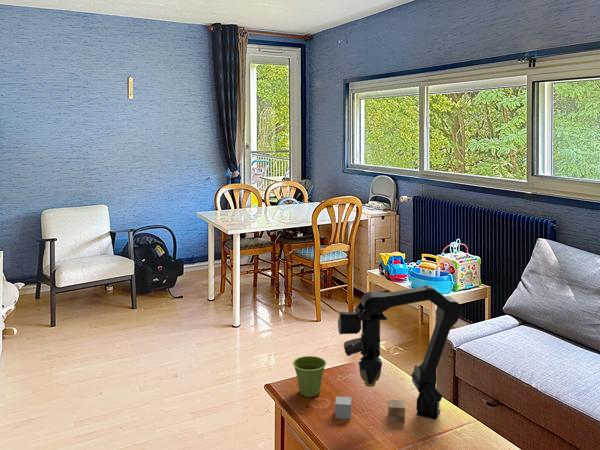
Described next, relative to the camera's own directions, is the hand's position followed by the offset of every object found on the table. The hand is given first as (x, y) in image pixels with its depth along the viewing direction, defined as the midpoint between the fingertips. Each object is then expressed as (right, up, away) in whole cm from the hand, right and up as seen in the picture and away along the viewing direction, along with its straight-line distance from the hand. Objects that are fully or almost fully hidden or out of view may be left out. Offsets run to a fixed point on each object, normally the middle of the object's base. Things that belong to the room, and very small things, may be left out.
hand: (370, 379), depth 169 cm
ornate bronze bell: (0, -2, 0) cm, 2 cm away
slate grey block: (-8, -13, +3) cm, 15 cm away
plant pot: (-19, -10, +18) cm, 28 cm away
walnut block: (+8, -13, +1) cm, 15 cm away
